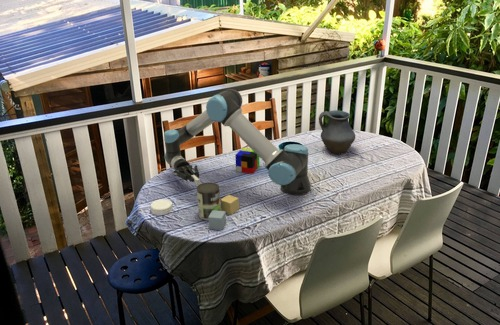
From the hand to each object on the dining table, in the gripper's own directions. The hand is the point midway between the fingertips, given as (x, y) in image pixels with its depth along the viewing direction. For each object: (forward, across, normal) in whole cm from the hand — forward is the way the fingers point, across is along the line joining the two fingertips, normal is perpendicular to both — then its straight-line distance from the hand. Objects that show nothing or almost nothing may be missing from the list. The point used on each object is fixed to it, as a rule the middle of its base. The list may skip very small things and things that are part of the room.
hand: (198, 182), depth 213 cm
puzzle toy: (-21, -38, -11) cm, 45 cm away
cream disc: (-3, +18, -11) cm, 22 cm away
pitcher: (-15, -94, -12) cm, 96 cm away
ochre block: (+14, -9, -11) cm, 20 cm away
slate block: (+23, +1, -11) cm, 26 cm away
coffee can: (+12, 0, -11) cm, 17 cm away
